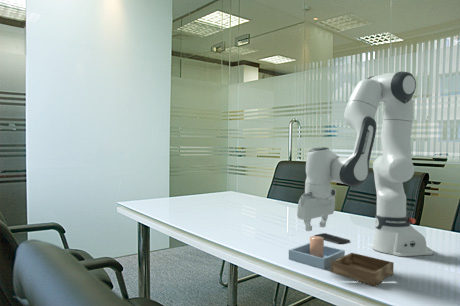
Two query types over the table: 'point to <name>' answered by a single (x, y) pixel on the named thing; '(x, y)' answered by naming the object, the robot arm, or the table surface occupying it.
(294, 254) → the bin
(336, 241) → the phone
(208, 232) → the table surface
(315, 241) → the orange-tan rounded cylinder
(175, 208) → the table surface
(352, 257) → the tray
